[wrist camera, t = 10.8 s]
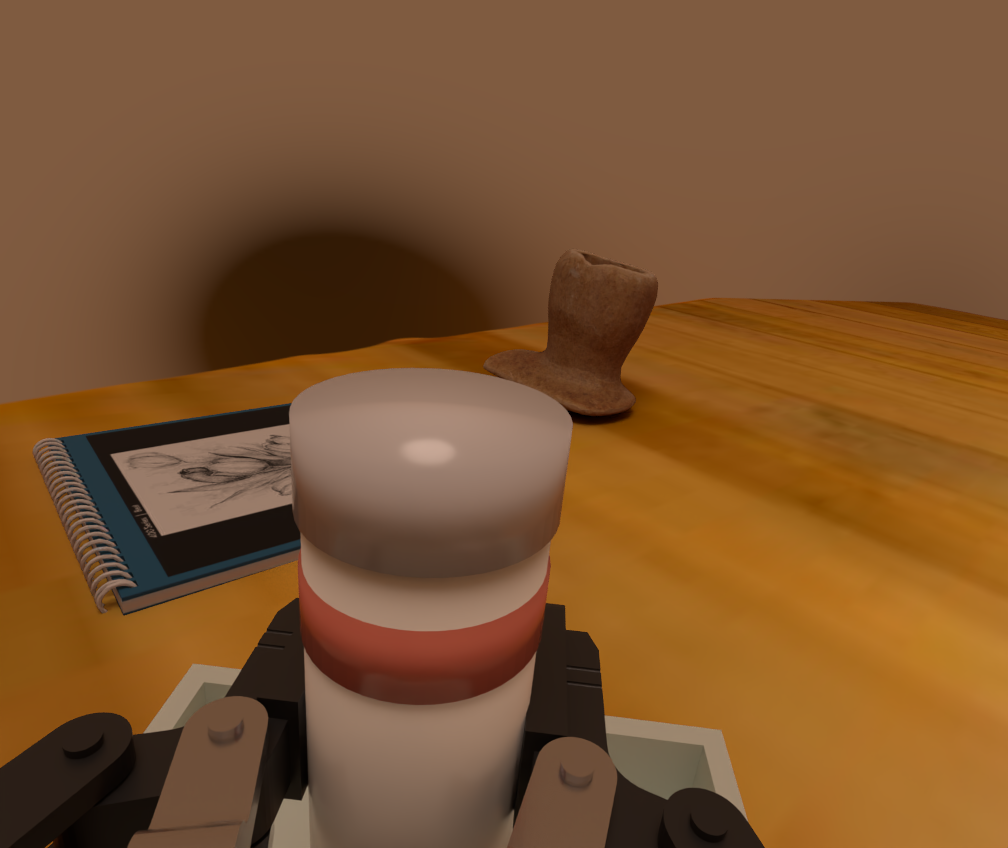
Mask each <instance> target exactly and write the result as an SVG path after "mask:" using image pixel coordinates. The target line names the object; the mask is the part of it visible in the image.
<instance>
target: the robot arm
mask: <svg viewBox="0 0 1008 848" xmlns="http://www.w3.org/2000/svg"><path fill="white" fill-rule="evenodd" d="M307 786H308V763H307V730H306V697H305V664H304V645H303V643H302V639H301V633H300V612H299V598H296V599H294V600H293V601H292V602H290V603H289V604H288V605H286V606H285V607H284V608H282V609H281V610H279V611H278V612H277V614H276V615H275V617H274V619H273V620H272V622H271V623H270V625H269V627H268V628H267V632H266V633H264V635H263V636H262V638H261V639H260V641H259V643H258V646H257V647H255V649H254V651H253V652H252V654H251V655H250V657H249V659H248V660H247V662H246V663H245V665H244V667H243V668H242V670H241V671H240V673H239V675H238V676H237V678H236V679H235V681H234V683H233V684H232V686H231V687H230V689H229V691H228V692H227V694H226V696H225V697H224V698H221V699H218V700H215V701H212V702H210V703H208V704H206V705H204V706H203V707H201V708H200V709H198V710H197V711H196V712H195V713H194V714H193V715H192V716H191V717H190V718H189V719H188V721H187V722H186V724H185V726H183V727H180V728H176V729H171V730H165V731H158V732H151V733H144V734H137V735H133V734H132V728H131V725H130V723H129V722H128V721H127V719H125V718H124V717H122V716H120V715H117V714H113V713H93V714H88V715H84V716H81V717H78V718H75V719H73V720H71V721H69V722H67V723H65V724H63V725H61V726H60V727H58V728H57V729H55V730H54V731H52V732H51V733H49V734H48V735H47V736H45V737H44V738H42V739H41V740H39V741H38V742H37V743H35V744H34V745H32V746H31V747H30V748H28V749H27V750H25V751H24V752H23V753H21V754H20V755H18V756H17V757H15V758H14V759H13V760H11V761H10V762H8V763H7V764H6V765H4V766H3V767H1V768H0V848H45V847H46V846H47V845H48V844H50V843H51V842H52V841H53V843H52V844H51V845H50V846H49V847H48V848H272V845H273V839H274V831H275V825H274V820H275V818H276V815H277V813H278V811H279V808H280V806H281V804H282V801H283V799H292V800H300V801H302V798H303V796H304V793H305V791H306V788H307ZM507 848H765V847H764V846H763V844H762V843H761V841H760V840H759V838H758V837H757V835H756V834H755V832H754V831H753V829H752V828H751V826H750V825H749V823H748V821H747V820H746V818H745V817H744V816H743V814H742V813H741V812H740V811H739V810H738V808H737V807H736V806H735V805H733V804H732V803H731V802H730V801H729V800H727V799H726V798H724V797H723V796H721V795H719V794H717V793H715V792H712V791H709V790H707V789H702V788H685V789H681V790H679V791H677V792H675V793H673V794H672V795H671V796H670V797H669V799H668V800H667V799H665V798H662V797H660V796H658V795H655V794H653V793H651V792H648V791H646V790H644V789H642V788H640V787H638V786H636V785H635V784H633V783H631V782H630V781H629V780H628V779H626V778H625V777H624V776H623V775H622V774H621V773H620V772H619V771H618V769H617V768H616V767H615V765H614V763H613V761H612V759H611V758H610V755H609V752H608V747H607V737H606V726H605V715H604V704H603V693H602V682H601V673H600V660H599V650H598V648H597V647H596V645H595V644H594V642H593V640H592V639H591V637H590V636H589V634H588V633H587V632H580V631H572V630H566V626H565V605H557V604H549V603H546V605H545V613H544V620H543V628H542V635H541V640H540V643H539V646H538V649H537V651H536V658H535V666H534V674H533V681H532V689H531V696H530V703H529V706H528V709H527V712H526V719H525V727H524V734H523V742H522V750H521V758H520V766H519V774H518V781H517V789H516V797H515V805H514V816H513V831H512V834H511V837H510V840H509V842H508V845H507Z"/></svg>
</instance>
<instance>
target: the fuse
mask: <svg viewBox="0 0 1008 848" xmlns="http://www.w3.org/2000/svg"><path fill="white" fill-rule="evenodd" d="M289 422H290V451H291V480H292V509H293V516H294V521H295V523H296V525H297V527H298V529H299V531H300V532H301V549H300V552H299V555H298V581H299V612H300V633H301V639H302V643H303V645H304V664H305V697H306V730H307V763H308V797H309V830H310V848H507V845H508V842H509V840H510V837H511V834H512V831H513V816H514V805H515V797H516V789H517V781H518V774H519V766H520V758H521V750H522V742H523V734H524V727H525V719H526V712H527V709H528V706H529V703H530V696H531V689H532V681H533V674H534V666H535V658H536V651H537V649H538V646H539V643H540V640H541V635H542V628H543V620H544V613H545V605H546V598H547V590H548V582H549V575H550V567H551V565H550V556H549V550H550V542H551V539H552V538H553V536H554V535H555V534H556V532H557V529H558V527H559V524H560V517H561V509H562V502H563V494H564V487H565V480H566V472H567V465H568V457H569V450H570V442H571V435H572V427H573V423H572V419H571V416H570V415H569V413H568V411H567V410H566V409H565V408H564V407H563V406H562V405H561V404H559V403H558V402H557V401H556V400H554V399H553V398H551V397H549V396H548V395H546V394H544V393H542V392H540V391H538V390H535V389H533V388H530V387H528V386H525V385H522V384H519V383H516V382H513V381H510V380H506V379H502V378H498V377H493V376H489V375H484V374H478V373H472V372H465V371H457V370H446V369H430V368H397V369H381V370H372V371H364V372H358V373H352V374H348V375H343V376H339V377H335V378H332V379H329V380H326V381H323V382H321V383H318V384H315V385H314V386H312V387H310V388H308V389H306V390H305V391H303V392H302V393H301V394H299V395H298V396H297V397H296V398H295V399H294V400H293V402H292V404H291V406H290V411H289Z"/></svg>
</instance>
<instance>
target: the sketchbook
mask: <svg viewBox="0 0 1008 848" xmlns="http://www.w3.org/2000/svg"><path fill="white" fill-rule="evenodd" d="M291 404H292V403H290V404H283V405H276V406H270V407H263V408H256V409H249V410H243V411H236V412H229V413H223V414H216V415H209V416H202V417H196V418H189V419H182V420H176V421H169V422H162V423H155V424H149V425H142V426H135V427H129V428H122V429H115V430H108V431H102V432H95V433H88V434H82V435H75V436H68V437H61V438H55V439H54V438H47V439H43V440H41V441H39V442H38V443H37V444H36V445H35V446H34V448H33V455H34V458H35V459H36V462H37V464H38V467H39V469H40V471H41V474H42V475H43V479H44V482H45V484H46V486H47V488H48V490H49V493H50V495H51V498H52V500H53V502H54V505H55V507H56V509H57V512H58V514H59V517H60V519H61V521H62V525H63V527H64V528H65V531H66V534H67V536H68V539H69V541H70V543H71V546H72V547H73V551H74V553H75V555H76V556H77V560H78V562H79V563H80V567H81V570H82V571H83V573H84V577H85V579H86V580H87V584H88V586H89V588H91V594H92V596H93V597H95V598H94V600H95V603H96V604H97V607H98V609H99V610H100V612H102V613H105V612H107V610H106V609H104V607H103V606H104V605H105V604H103V603H102V599H103V597H104V595H105V594H106V593H107V592H108V591H109V590H111V589H112V591H113V593H114V596H115V598H116V600H117V602H118V604H119V606H120V609H121V611H122V613H123V615H127V614H130V613H133V612H137V611H140V610H143V609H146V608H149V607H152V606H155V605H159V604H162V603H165V602H168V601H171V600H174V599H177V598H180V597H184V596H187V595H190V594H193V593H196V592H199V591H202V590H205V589H209V588H212V587H215V586H218V585H221V584H224V583H227V582H230V581H233V580H236V579H239V578H243V577H246V576H249V575H252V574H255V573H258V572H261V571H264V570H267V569H271V568H274V567H277V566H280V565H283V564H287V563H290V562H293V561H296V560H298V555H299V552H300V549H301V532H300V531H299V529H298V527H297V525H296V523H295V521H294V516H293V509H292V480H291V451H290V422H289V411H290V406H291ZM45 442H46V443H45ZM45 446H48V447H47V448H45V449H43V450H41V451H40V452H39V450H40V449H41V448H43V447H45ZM48 450H49V452H48V453H46V454H44V455H43V456H42V457H41V455H42V454H43V453H44V452H46V451H48ZM38 452H39V453H38ZM49 455H50V456H51V457H49V458H47V459H46V460H45V461H43V460H44V458H45V457H47V456H49ZM51 460H52V461H53V462H52V463H50V464H48V465H47V466H46V467H45V465H46V464H47V463H48V462H49V461H51ZM54 465H55V467H54V468H52V469H51V470H49V471H48V469H49V468H50V467H52V466H54ZM44 467H45V468H44ZM56 470H57V471H58V472H57V473H55V474H54V475H53V476H52V477H50V475H51V474H52V473H53V472H54V471H56ZM47 471H48V472H47ZM57 476H60V478H59V479H57V480H55V481H54V482H53V483H52V484H51V482H52V481H53V480H54V479H55V478H56V477H57ZM49 477H50V478H49ZM61 481H62V482H63V484H60V485H59V486H58V487H57V488H55V489H54V487H55V485H56V484H58V483H59V482H61ZM62 487H65V489H64V490H62V491H61V492H59V493H58V494H57V495H56V493H57V492H58V490H60V489H61V488H62ZM65 493H68V495H66V496H65V497H63V498H62V499H61V500H60V501H58V500H59V499H60V497H61V496H62V495H63V494H65ZM69 498H70V500H71V501H70V502H68V503H66V504H65V505H64V506H63V507H62V508H61V506H62V504H63V502H64V501H65V500H67V499H69ZM72 504H73V506H74V507H73V508H71V509H69V510H68V511H67V512H65V514H64V511H65V510H66V508H67V507H69V506H70V505H72ZM73 511H76V514H75V515H73V516H71V517H70V518H69V519H68V520H67V517H68V515H69V514H70V513H72V512H73ZM78 517H79V519H80V520H79V521H77V522H75V523H74V524H73V525H72V526H71V527H70V523H71V522H72V520H74V519H76V518H78ZM80 524H82V526H83V527H82V528H80V529H79V530H77V531H76V532H75V533H74V534H73V530H74V529H75V528H76V527H77V526H78V525H80ZM83 531H85V532H86V534H85V535H84V536H82V537H80V538H79V539H78V540H76V537H77V536H78V534H80V533H81V532H83ZM72 535H73V536H72ZM87 538H88V539H89V541H90V542H88V543H86V544H84V545H83V546H82V547H81V548H80V547H79V545H80V543H81V542H82V541H83V540H85V539H87ZM75 542H76V543H75ZM91 545H92V548H93V549H92V550H91V551H89V552H87V553H86V554H85V555H84V556H83V555H82V553H83V551H84V550H85V549H86V548H87V547H89V546H91ZM94 553H95V554H96V556H97V557H95V558H94V559H92V560H90V561H89V562H88V564H87V562H85V561H86V559H87V558H88V557H89V556H90V555H92V554H94ZM97 561H99V563H100V565H99V566H97V567H96V568H94V569H93V570H92V571H91V572H90V573H89V571H90V570H89V569H90V567H91V565H92V564H93V563H95V562H97ZM85 564H87V565H86V566H85ZM101 569H103V572H104V573H103V574H102V575H100V576H98V577H97V578H96V579H95V580H94V582H92V580H93V579H94V578H93V576H94V575H95V573H96V572H98V571H100V570H101ZM104 578H107V580H108V582H107V583H105V584H104V585H103V586H101V587H100V588H99V589H98V590H97V592H96V588H97V587H96V586H97V584H98V583H99V582H100V581H101V580H102V579H104Z"/></svg>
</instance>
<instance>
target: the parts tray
mask: <svg viewBox="0 0 1008 848" xmlns="http://www.w3.org/2000/svg"><path fill="white" fill-rule="evenodd" d="M240 671H241V670H240V669H232V668H224V667H216V666H208V665H200V664H193V665H192V666H191V668H190V669H189V670H188V672H187V673H186V675H185V676H184V677H183V679H182V680H181V682H180V683H179V684H178V686H177V687H176V689H175V690H174V691H173V693H172V694H171V696H170V697H169V698H168V700H167V701H166V702H165V704H164V705H163V707H162V708H161V709H160V711H159V712H158V714H157V715H156V716H155V718H154V719H153V721H152V722H151V723H150V725H149V726H148V728H147V729H146V730H145V732H144V733H151V732H158V731H165V730H171V729H176V728H180V727H183V726H185V724H186V722H187V721H188V719H189V718H190V717H191V716H192V715H193V714H194V713H195V712H196V711H197V710H198V709H200V708H201V707H203V706H204V705H206V704H208V703H210V702H212V701H215V700H218V699H221V698H224V697H225V696H226V694H227V692H228V691H229V689H230V687H231V686H232V684H233V683H234V681H235V679H236V678H237V676H238V675H239V673H240ZM605 726H606V737H607V747H608V752H609V755H610V758H611V759H612V761H613V763H614V765H615V767H616V768H617V769H618V771H619V772H620V773H621V774H622V775H623V776H624V777H625V778H626V779H628V780H629V781H630V782H631V783H633V784H635V785H636V786H638V787H640V788H642V789H644V790H646V791H648V792H651V793H653V794H655V795H658V796H660V797H662V798H665V799H667V800H668V799H669V797H670V796H671V795H672V794H673V793H675V792H677V791H679V790H681V789H685V788H702V789H707V790H709V791H712V792H715V793H717V794H719V795H721V796H723V797H724V798H726V799H727V800H729V801H730V802H731V803H732V804H733V805H735V806H736V807H737V808H738V810H739V811H740V812H741V813H742V814H743V816H744V817H745V818H746V820H747V816H746V813H745V810H744V806H743V803H742V799H741V796H740V793H739V789H738V786H737V782H736V779H735V776H734V772H733V769H732V765H731V762H730V759H729V755H728V752H727V748H726V745H725V742H724V738H723V735H722V731H721V730H716V729H708V728H700V727H692V726H684V725H676V724H668V723H660V722H652V721H644V720H636V719H628V718H620V717H612V716H605ZM144 733H143V734H144ZM747 821H748V820H747ZM274 825H275V831H274V839H273V845H272V848H310V830H309V797H308V786H307V788H306V791H305V793H304V796H303V798H302V801H300V800H292V799H283V801H282V804H281V806H280V808H279V811H278V813H277V815H276V818H275V820H274Z"/></svg>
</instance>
